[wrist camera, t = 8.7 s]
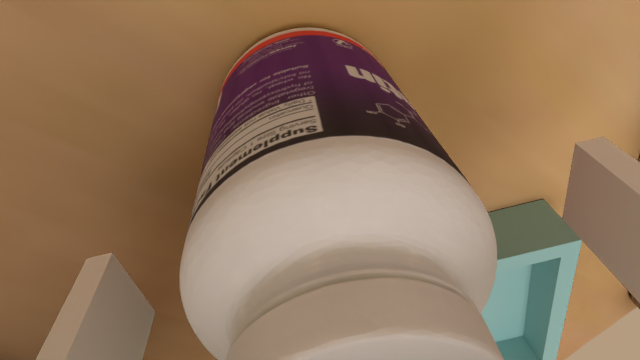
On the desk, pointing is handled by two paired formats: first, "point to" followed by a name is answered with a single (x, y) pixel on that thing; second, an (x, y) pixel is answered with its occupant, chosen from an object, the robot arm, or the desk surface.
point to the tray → (531, 280)
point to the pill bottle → (332, 217)
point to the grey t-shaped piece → (635, 301)
